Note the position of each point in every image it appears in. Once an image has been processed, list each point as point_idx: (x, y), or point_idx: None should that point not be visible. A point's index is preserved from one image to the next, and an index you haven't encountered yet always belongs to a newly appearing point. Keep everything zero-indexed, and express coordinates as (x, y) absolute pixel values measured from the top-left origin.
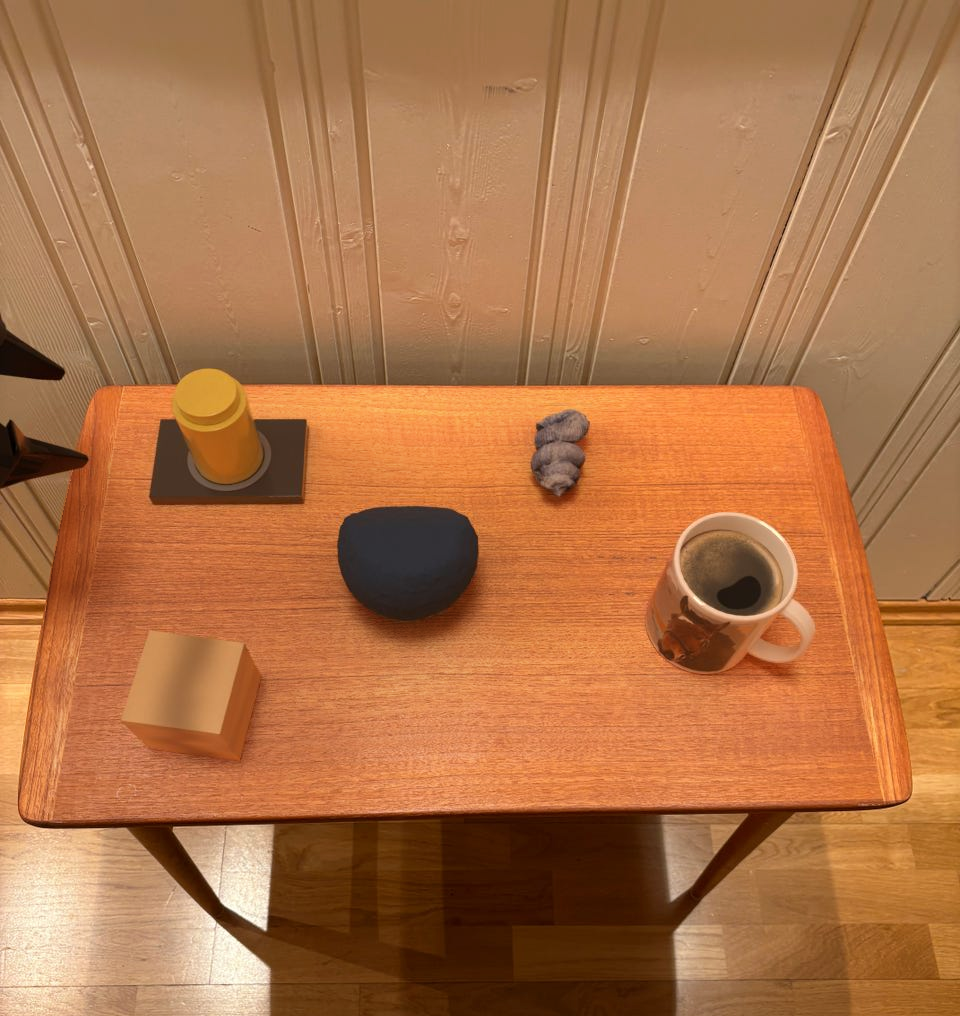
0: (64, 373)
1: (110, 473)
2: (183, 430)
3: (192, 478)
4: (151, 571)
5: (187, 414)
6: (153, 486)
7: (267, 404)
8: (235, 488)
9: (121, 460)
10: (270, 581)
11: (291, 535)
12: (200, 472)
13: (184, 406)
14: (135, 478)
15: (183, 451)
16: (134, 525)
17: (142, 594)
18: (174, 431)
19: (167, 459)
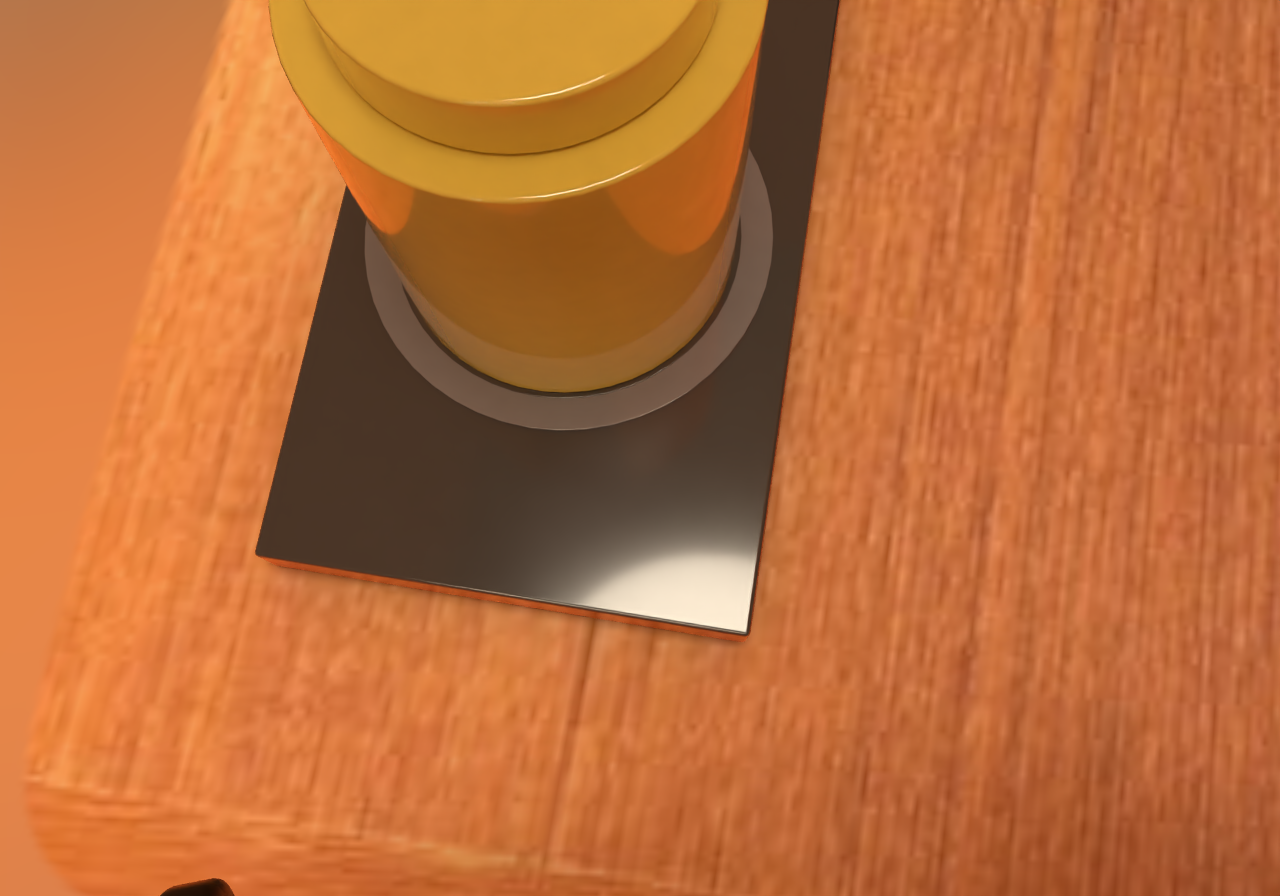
0: (230, 888)
1: (512, 855)
2: (670, 190)
3: (666, 414)
4: (1136, 666)
5: (671, 43)
6: (686, 607)
7: (259, 89)
8: (763, 218)
9: (439, 793)
10: (1226, 150)
11: (996, 50)
12: (657, 360)
13: (613, 41)
14: (568, 724)
15: (490, 448)
16: (857, 739)
17: (1265, 715)
18: (353, 486)
19: (527, 529)
